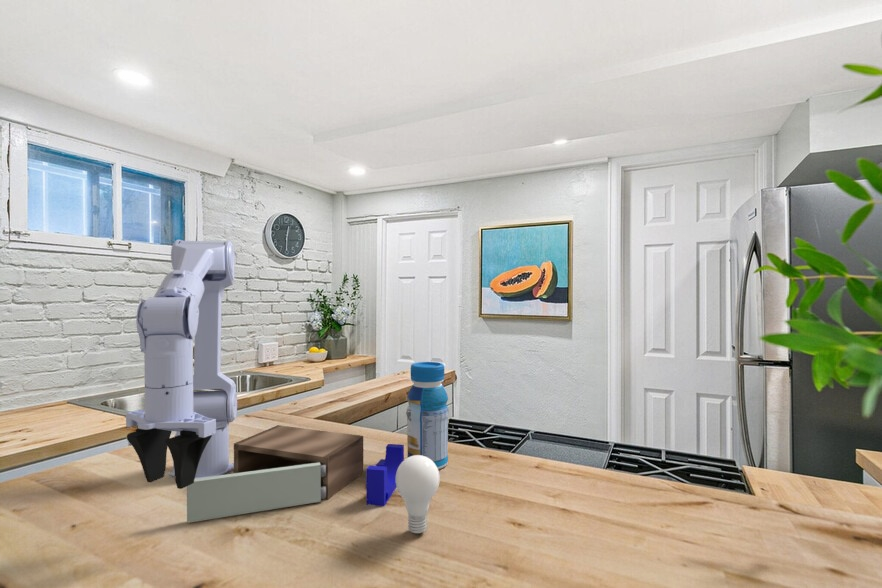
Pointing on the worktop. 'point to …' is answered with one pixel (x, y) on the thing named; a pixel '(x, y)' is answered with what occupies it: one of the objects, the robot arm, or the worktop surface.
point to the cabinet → (303, 453)
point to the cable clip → (383, 476)
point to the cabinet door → (254, 491)
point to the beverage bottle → (428, 413)
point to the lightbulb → (417, 489)
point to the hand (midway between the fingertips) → (170, 482)
